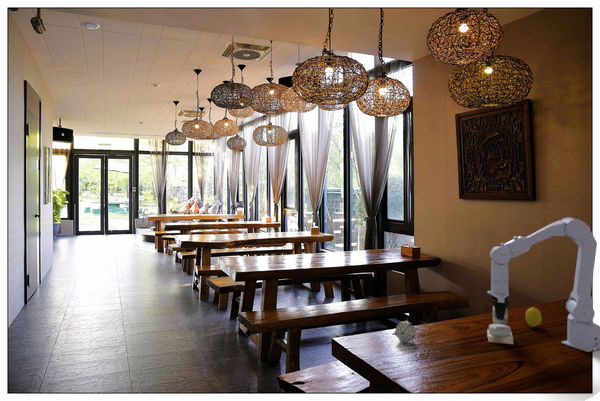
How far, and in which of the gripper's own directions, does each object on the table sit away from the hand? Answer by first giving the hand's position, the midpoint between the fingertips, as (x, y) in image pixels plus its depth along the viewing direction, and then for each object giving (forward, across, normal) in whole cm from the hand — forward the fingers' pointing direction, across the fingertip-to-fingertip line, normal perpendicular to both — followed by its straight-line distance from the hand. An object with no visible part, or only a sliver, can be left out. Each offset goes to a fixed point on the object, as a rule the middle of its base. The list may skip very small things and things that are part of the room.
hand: (499, 317), depth 161 cm
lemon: (+8, -18, +14) cm, 24 cm away
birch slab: (+8, 0, 0) cm, 9 cm away
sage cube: (+2, 0, 0) cm, 2 cm away
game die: (+8, +13, -32) cm, 35 cm away
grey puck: (+6, 0, 0) cm, 6 cm away
